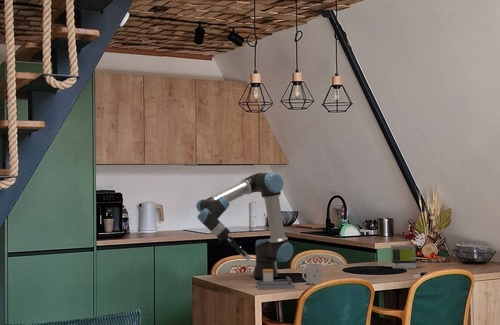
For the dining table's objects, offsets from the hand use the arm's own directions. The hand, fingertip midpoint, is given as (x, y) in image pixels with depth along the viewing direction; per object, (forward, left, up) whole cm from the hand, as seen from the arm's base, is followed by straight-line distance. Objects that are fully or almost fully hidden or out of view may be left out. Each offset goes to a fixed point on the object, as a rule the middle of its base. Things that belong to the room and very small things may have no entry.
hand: (248, 258), depth 387 cm
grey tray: (-11, +10, -17) cm, 22 cm away
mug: (-31, +21, -17) cm, 41 cm away
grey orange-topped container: (-8, +8, -15) cm, 18 cm away
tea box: (-120, +34, -17) cm, 126 cm away
